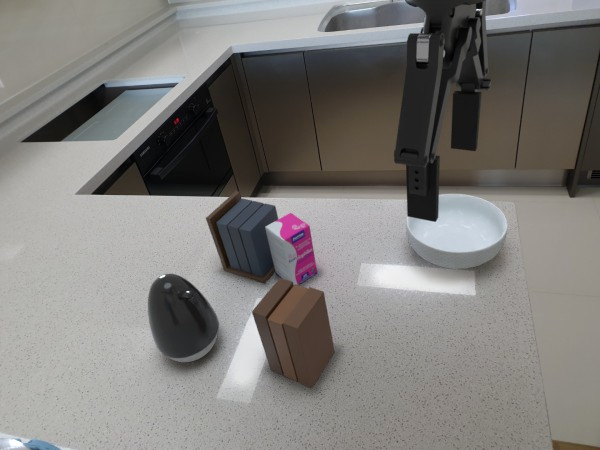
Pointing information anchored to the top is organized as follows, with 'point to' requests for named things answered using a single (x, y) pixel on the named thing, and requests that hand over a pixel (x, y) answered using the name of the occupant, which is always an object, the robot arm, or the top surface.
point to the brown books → (295, 331)
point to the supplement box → (291, 249)
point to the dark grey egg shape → (181, 319)
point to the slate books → (243, 236)
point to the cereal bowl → (459, 232)
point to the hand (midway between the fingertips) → (445, 179)
